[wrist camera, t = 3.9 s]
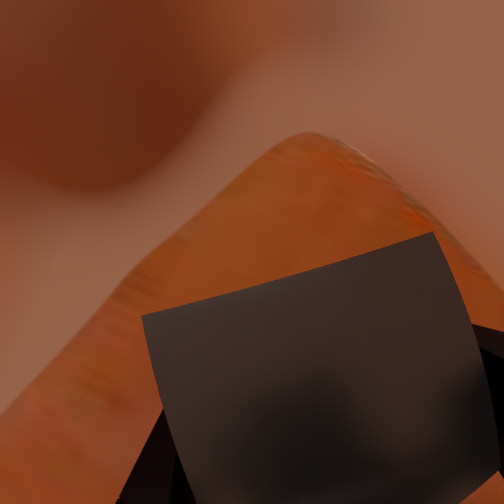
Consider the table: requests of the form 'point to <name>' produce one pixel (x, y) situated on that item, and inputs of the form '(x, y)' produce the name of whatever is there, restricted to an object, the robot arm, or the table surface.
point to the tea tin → (330, 386)
